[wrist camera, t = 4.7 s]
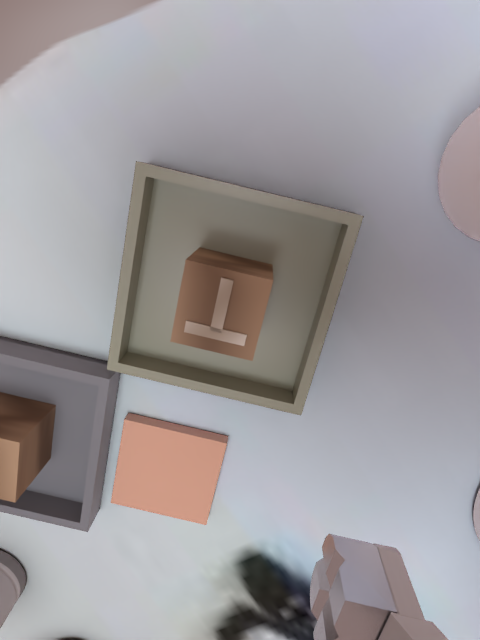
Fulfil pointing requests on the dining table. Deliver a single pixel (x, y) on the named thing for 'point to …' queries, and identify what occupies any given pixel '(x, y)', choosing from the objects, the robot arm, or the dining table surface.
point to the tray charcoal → (64, 429)
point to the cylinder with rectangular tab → (462, 177)
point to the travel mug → (10, 584)
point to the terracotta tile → (168, 468)
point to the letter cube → (222, 303)
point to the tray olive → (239, 240)
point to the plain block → (23, 442)
